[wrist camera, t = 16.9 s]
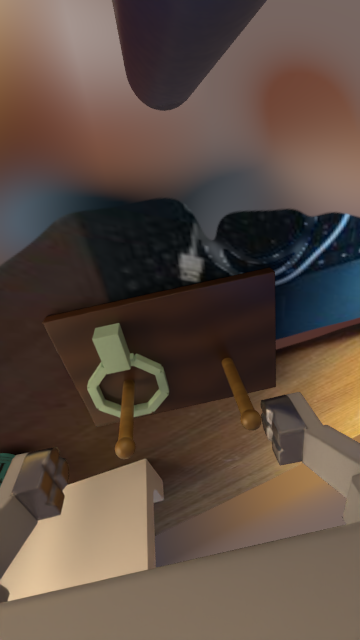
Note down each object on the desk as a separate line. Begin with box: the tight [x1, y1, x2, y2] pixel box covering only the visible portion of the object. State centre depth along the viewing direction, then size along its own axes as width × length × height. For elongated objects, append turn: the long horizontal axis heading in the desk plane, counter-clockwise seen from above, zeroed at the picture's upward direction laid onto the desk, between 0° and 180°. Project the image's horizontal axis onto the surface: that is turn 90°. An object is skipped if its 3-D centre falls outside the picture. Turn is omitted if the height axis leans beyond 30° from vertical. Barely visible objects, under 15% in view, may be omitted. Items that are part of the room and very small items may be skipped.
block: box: [0, 458, 164, 601], centre depth 42 cm, size 35×8×28 cm, turn 111°
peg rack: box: [43, 268, 276, 459], centre depth 34 cm, size 19×28×13 cm
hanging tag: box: [87, 323, 169, 417], centre depth 37 cm, size 15×10×2 cm
